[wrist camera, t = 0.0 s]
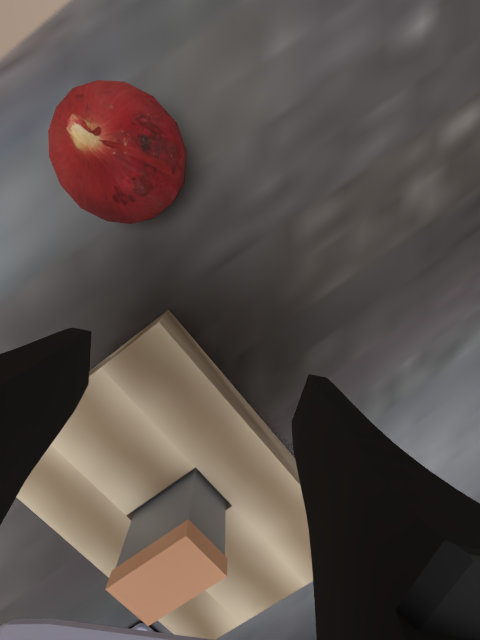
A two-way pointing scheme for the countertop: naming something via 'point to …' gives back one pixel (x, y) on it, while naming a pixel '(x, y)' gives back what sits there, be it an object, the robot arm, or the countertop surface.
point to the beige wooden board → (176, 473)
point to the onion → (117, 151)
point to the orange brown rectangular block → (172, 549)
